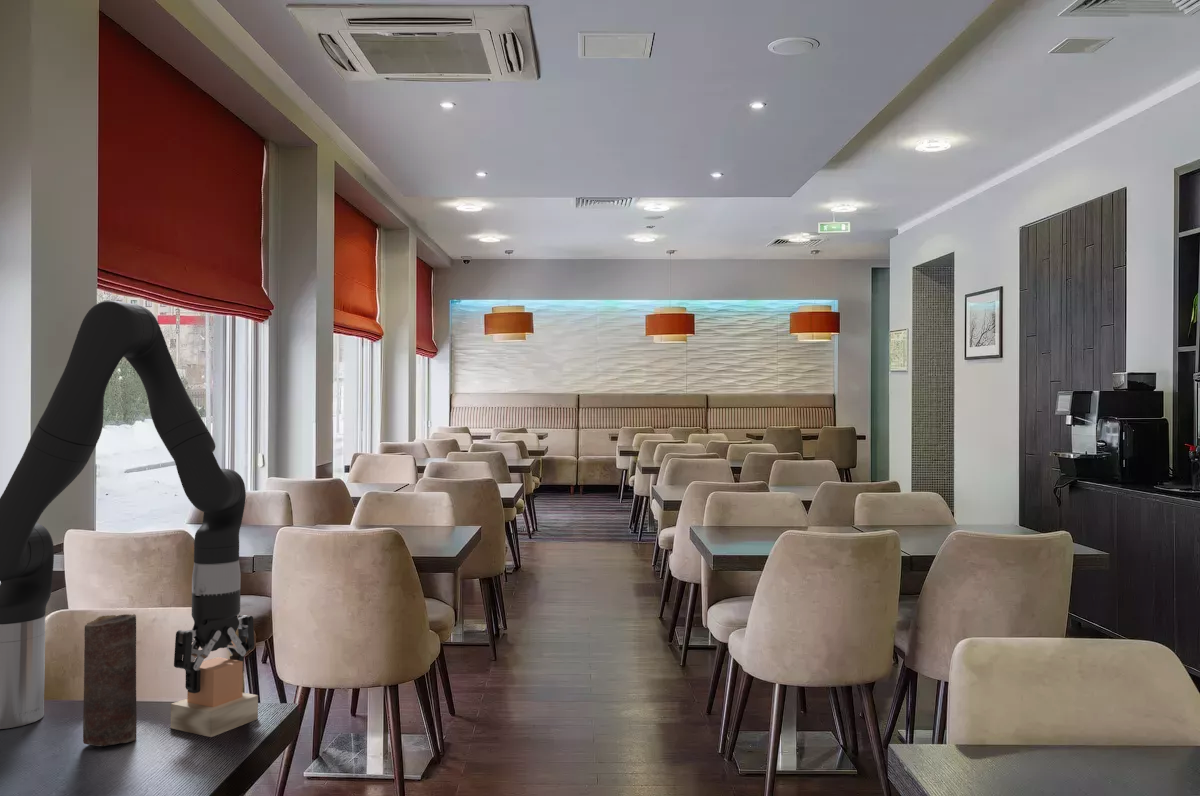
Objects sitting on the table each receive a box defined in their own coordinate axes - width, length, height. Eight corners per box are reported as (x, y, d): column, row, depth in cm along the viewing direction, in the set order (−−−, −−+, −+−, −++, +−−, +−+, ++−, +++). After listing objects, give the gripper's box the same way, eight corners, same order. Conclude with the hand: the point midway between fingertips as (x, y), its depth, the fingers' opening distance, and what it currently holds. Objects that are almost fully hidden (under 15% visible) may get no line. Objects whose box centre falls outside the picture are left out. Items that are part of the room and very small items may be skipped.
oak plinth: (170, 728, 145) (170, 703, 145) (217, 711, 153) (218, 687, 153) (211, 737, 141) (211, 712, 141) (257, 719, 149) (258, 695, 149)
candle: (111, 755, 133) (113, 622, 133) (70, 751, 134) (72, 620, 135) (147, 737, 140) (148, 612, 141) (107, 734, 142) (109, 610, 142)
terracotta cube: (187, 702, 146) (187, 665, 146) (216, 692, 151) (217, 657, 151) (213, 707, 143) (213, 670, 143) (242, 696, 148) (242, 661, 149)
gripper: (234, 579, 156) (233, 671, 155) (163, 593, 143) (162, 694, 142) (265, 582, 152) (264, 676, 152) (196, 597, 139) (194, 700, 139)
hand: (215, 685), depth 147 cm, fingers open, 8 cm apart
